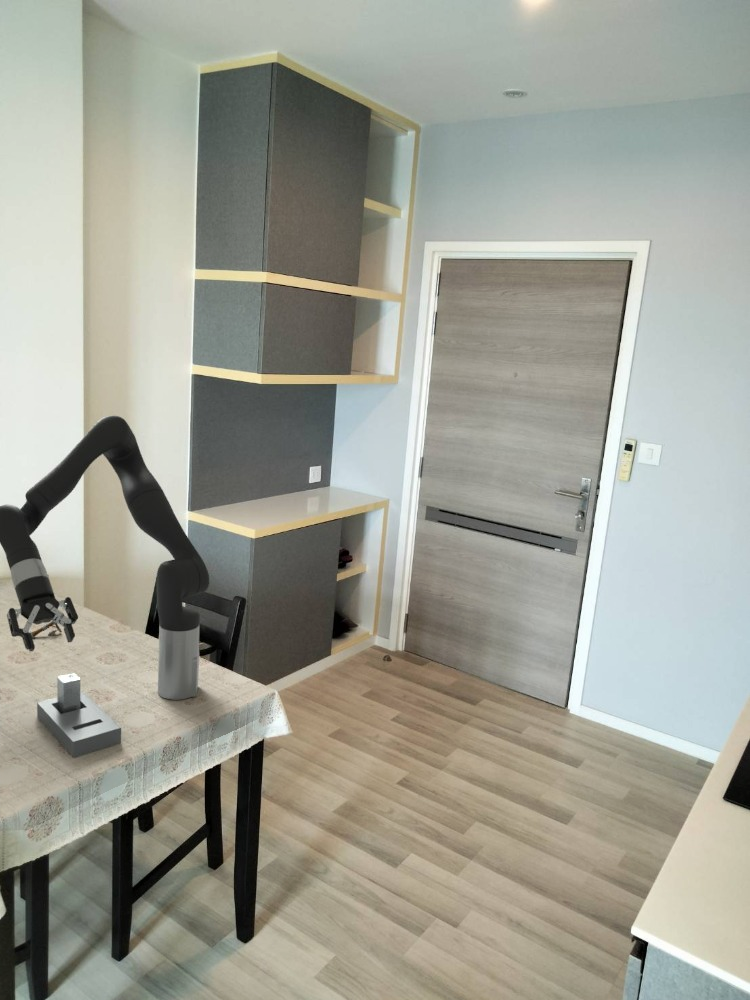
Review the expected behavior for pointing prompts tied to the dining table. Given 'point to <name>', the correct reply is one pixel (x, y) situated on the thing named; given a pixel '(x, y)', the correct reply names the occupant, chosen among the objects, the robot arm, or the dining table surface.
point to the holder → (80, 726)
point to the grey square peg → (68, 693)
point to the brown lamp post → (45, 629)
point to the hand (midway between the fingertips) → (51, 645)
